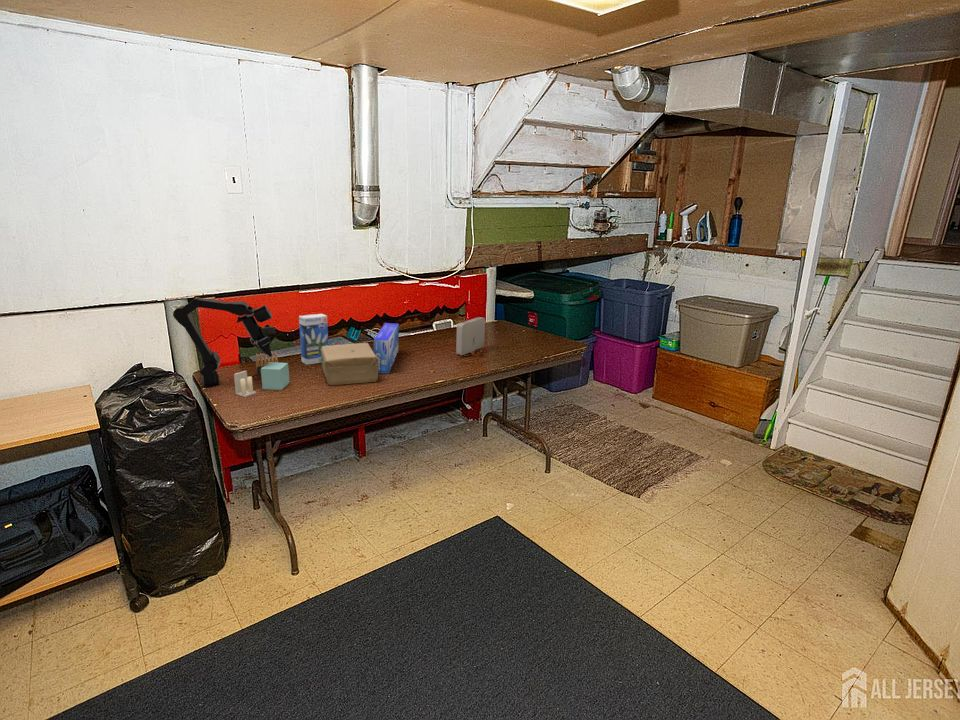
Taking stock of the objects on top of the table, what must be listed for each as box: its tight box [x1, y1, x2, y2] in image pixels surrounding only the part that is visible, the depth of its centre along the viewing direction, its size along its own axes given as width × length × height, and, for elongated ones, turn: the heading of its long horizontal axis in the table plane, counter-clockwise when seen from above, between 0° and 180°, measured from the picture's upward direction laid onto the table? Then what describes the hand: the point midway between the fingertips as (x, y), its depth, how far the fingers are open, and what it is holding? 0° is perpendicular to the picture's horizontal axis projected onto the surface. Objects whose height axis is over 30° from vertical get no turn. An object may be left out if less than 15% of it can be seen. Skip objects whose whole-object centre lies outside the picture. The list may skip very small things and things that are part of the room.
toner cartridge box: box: [373, 322, 400, 374], centre depth 297 cm, size 39×8×18 cm, turn 1°
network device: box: [455, 316, 486, 356], centre depth 320 cm, size 26×9×20 cm, turn 148°
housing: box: [260, 362, 290, 391], centre depth 254 cm, size 9×10×10 cm
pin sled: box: [233, 370, 257, 398], centre depth 243 cm, size 6×6×10 cm
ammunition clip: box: [255, 350, 279, 376], centre depth 271 cm, size 11×2×12 cm, turn 122°
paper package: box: [321, 342, 379, 386], centre depth 274 cm, size 27×26×14 cm
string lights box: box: [298, 313, 329, 366], centre depth 292 cm, size 13×8×26 cm, turn 129°
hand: (269, 355), depth 259 cm, fingers open, 9 cm apart
